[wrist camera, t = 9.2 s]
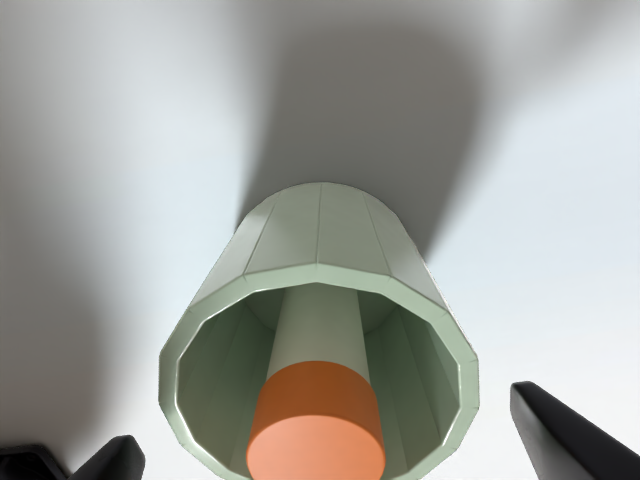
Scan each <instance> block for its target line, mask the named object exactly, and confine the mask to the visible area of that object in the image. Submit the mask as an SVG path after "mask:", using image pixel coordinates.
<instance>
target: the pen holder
mask: <svg viewBox="0 0 640 480" xmlns="http://www.w3.org/2000/svg"><path fill="white" fill-rule="evenodd" d="M313 282H320V283H325V284H331V285H336V286H342V287H347V288H353V289H357V296H358V302H359V309H360V316H361V323H362V330H363V337H364V343H365V350H366V357H367V364H368V371H369V377H370V384H371V387H372V389H373V391H374V393H375V395H376V399H377V404H378V410H379V416H380V422H381V429H382V435H383V441H384V447H385V454H386V464H385V468H384V472H383V474H382V476H381V478H380V480H418V479H422V478H423V477H424V476H425V475H426V474H428V473H429V472H430V471H431V470H433V469H434V468H435V467H436V466H438V465H439V464H440V463H441V462H443V461H444V460H445V459H446V458H448V457H449V456H450V455H451V454H453V453H454V452H455V451H456V450H457V448H459V446H460V444H461V442H462V440H463V438H464V436H465V434H466V433H467V431H468V429H469V427H470V425H471V423H472V421H473V419H474V417H475V415H476V414H477V412H478V410H479V406H480V399H479V364H478V358H477V354H476V353H475V351H474V349H473V347H472V345H471V344H470V342H469V340H468V338H467V336H466V335H465V333H464V331H463V329H462V328H461V326H460V324H459V322H458V320H457V319H456V317H455V315H454V313H453V312H452V310H451V308H450V306H449V304H448V303H447V301H446V299H445V297H444V295H443V294H442V292H441V290H440V288H439V287H438V285H437V283H436V281H435V279H434V278H433V276H432V274H431V272H430V271H429V269H428V267H427V265H426V263H425V262H424V260H423V258H422V256H421V255H420V253H419V251H418V249H417V247H416V246H415V244H414V242H413V241H412V239H411V237H410V236H409V234H408V232H407V231H406V229H405V227H404V226H403V224H402V223H401V221H400V220H399V218H398V216H397V215H396V214H395V213H394V212H393V211H391V210H390V209H389V207H387V206H386V205H385V204H384V203H382V202H381V201H380V200H378V199H377V198H375V197H374V196H372V195H370V194H368V193H367V192H364V191H362V190H359V189H357V188H355V187H351V186H347V185H343V184H337V183H330V182H313V183H305V184H300V185H296V186H292V187H288V188H286V189H283V190H281V191H279V192H276V193H275V194H273V195H271V196H269V197H268V198H266V199H265V200H263V201H262V202H261V203H259V204H258V205H257V206H256V207H255V208H254V209H253V210H251V211H250V212H249V213H248V214H247V215H246V216H245V218H244V219H243V221H242V223H241V224H240V226H239V227H238V229H237V230H236V232H235V234H234V235H233V237H232V238H231V240H230V241H229V243H228V245H227V246H226V248H225V249H224V251H223V252H222V254H221V256H220V257H219V259H218V260H217V262H216V263H215V265H214V267H213V268H212V270H211V271H210V273H209V274H208V276H207V278H206V279H205V281H204V282H203V284H202V285H201V287H200V289H199V290H198V292H197V293H196V295H195V296H194V298H193V300H192V301H191V303H190V304H189V306H188V307H187V309H186V311H185V312H184V314H183V316H182V317H181V319H180V320H179V322H178V324H177V325H176V327H175V329H174V330H173V332H172V334H171V335H170V337H169V338H168V340H167V342H166V343H165V345H164V347H163V348H162V350H161V352H160V355H159V395H158V402H159V405H160V407H161V409H162V411H163V413H164V415H165V417H166V419H167V421H168V422H169V424H170V426H171V428H172V430H173V432H174V434H175V436H176V438H177V440H178V442H179V443H180V444H181V446H182V447H183V448H184V449H186V450H187V451H188V452H189V453H190V454H192V455H193V456H194V457H195V458H196V459H198V460H199V461H200V462H201V463H202V464H204V465H205V466H206V467H207V468H208V469H209V470H211V471H212V472H213V473H214V474H215V475H217V476H219V477H220V478H222V479H225V480H254V479H253V478H252V476H251V474H250V472H249V470H248V467H247V462H246V450H247V445H248V441H249V436H250V432H251V427H252V423H253V418H254V414H255V409H256V405H257V400H258V396H259V393H260V391H261V388H262V387H263V385H264V384H265V382H266V377H267V372H268V368H269V363H270V358H271V353H272V348H273V344H274V339H275V334H276V329H277V325H278V320H279V315H280V310H281V305H282V301H283V296H284V291H285V287H289V286H295V285H301V284H307V283H313Z"/></svg>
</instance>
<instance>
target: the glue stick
mask: <svg viewBox="0 0 640 480" xmlns="http://www.w3.org/2000/svg"><path fill="white" fill-rule="evenodd" d="M246 462H247V467H248V470H249V472H250V474H251V476H252V478H253V479H254V480H380V478H381V476H382V474H383V472H384V468H385V464H386V454H385V447H384V441H383V435H382V429H381V422H380V416H379V410H378V404H377V399H376V395H375V393H374V391H373V389H372V387H371V384H370V377H369V371H368V364H367V357H366V350H365V343H364V337H363V330H362V323H361V316H360V309H359V302H358V296H357V289H353V288H347V287H342V286H336V285H331V284H325V283H320V282H313V283H307V284H301V285H295V286H289V287H285V291H284V296H283V301H282V305H281V310H280V315H279V320H278V325H277V329H276V334H275V339H274V344H273V348H272V353H271V358H270V363H269V368H268V372H267V377H266V382H265V384H264V385H263V387H262V388H261V391H260V393H259V396H258V400H257V405H256V409H255V414H254V418H253V423H252V427H251V432H250V436H249V441H248V445H247V450H246Z"/></svg>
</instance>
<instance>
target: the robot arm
mask: <svg viewBox="0 0 640 480" xmlns="http://www.w3.org/2000/svg"><path fill="white" fill-rule="evenodd" d="M510 411H511V416H512V419H513V421H514V423H515V426H516V428H517V430H518V433H519V435H520V437H521V439H522V442H523V444H524V446H525V449H526V451H527V453H528V456H529V458H530V460H531V462H532V465H533V467H534V469H535V472H536V474H537V476H538V478H539V480H640V456H639V455H638V454H636V453H635V452H633V451H632V450H630V449H629V448H628V447H626V446H625V445H623V444H622V443H620V442H619V441H617V440H616V439H614V438H613V437H612V436H610V435H609V434H607V433H606V432H604V431H603V430H601V429H600V428H599V427H597V426H596V425H594V424H593V423H591V422H590V421H588V420H587V419H585V418H584V417H583V416H581V415H580V414H578V413H577V412H575V411H574V410H572V409H571V408H569V407H568V406H567V405H565V404H564V403H562V402H561V401H559V400H558V399H556V398H555V397H554V396H552V395H551V394H549V393H548V392H546V391H545V390H543V389H542V388H540V387H539V386H538V385H536V384H535V383H533V382H530V381H523V382H516V383H513V384H512V385H511V388H510ZM144 467H145V456H144V454H143V452H142V450H141V449H140V447H139V445H138V443H137V442H136V440H135V438H134V437H133V436H131V435H123V436H117V437H114V438H113V439H111V440H110V441H109V442H108V443H107V444H106V445H104V446H103V447H102V448H101V449H100V450H99V451H98V452H97V453H96V454H95V455H93V456H92V457H91V458H90V459H89V460H88V461H87V462H86V463H85V464H84V465H82V466H81V467H80V468H79V469H78V470H77V471H76V472H75V473H74V474H73V475H71V476H70V477H69V478H68V479H66V477H65V476H64V475H63V473H62V472H61V471H60V469H59V468H58V467H57V465H56V464H55V463H54V461H53V460H52V459H51V457H50V456H49V455H48V453H47V452H46V451H45V450H44V449H43V448H42V447H40V446H37V445H30V446H22V447H15V448H7V449H0V480H141V478H142V475H143V471H144Z"/></svg>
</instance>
